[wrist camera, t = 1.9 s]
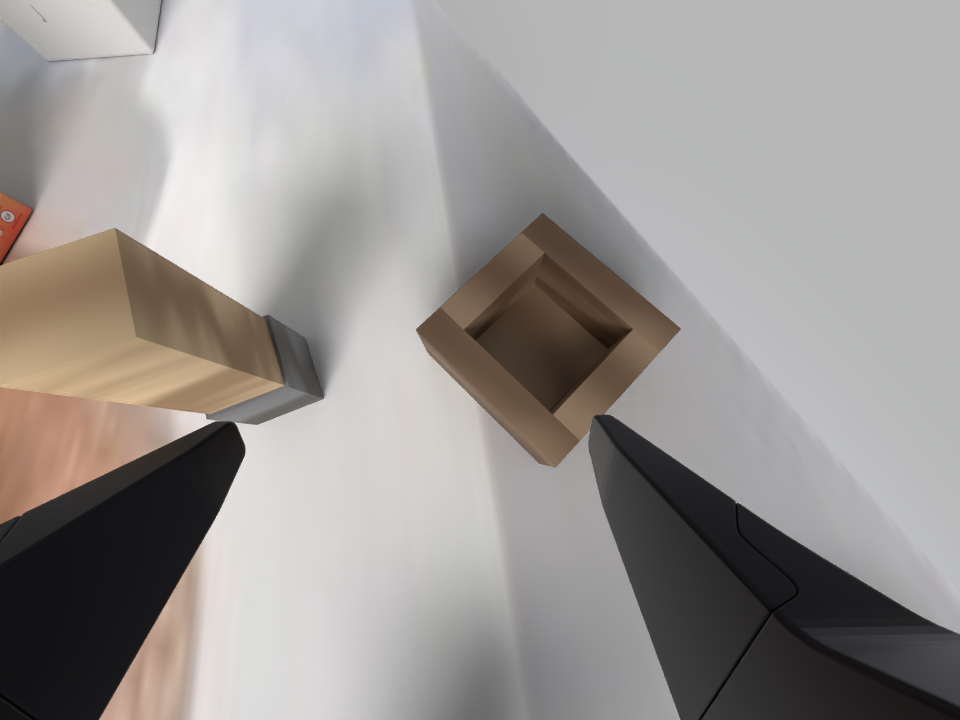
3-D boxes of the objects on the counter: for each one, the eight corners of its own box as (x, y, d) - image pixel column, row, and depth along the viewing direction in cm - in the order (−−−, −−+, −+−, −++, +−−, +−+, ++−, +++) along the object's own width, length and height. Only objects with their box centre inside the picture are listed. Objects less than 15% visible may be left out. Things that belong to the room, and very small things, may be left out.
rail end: (323, 398, 24) (144, 340, 11) (256, 424, 23) (-11, 395, 11) (305, 338, 25) (120, 220, 12) (240, 362, 24) (-22, 267, 11)
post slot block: (539, 463, 23) (555, 467, 18) (428, 353, 24) (415, 329, 19) (640, 352, 24) (681, 328, 19) (530, 257, 26) (542, 212, 21)
